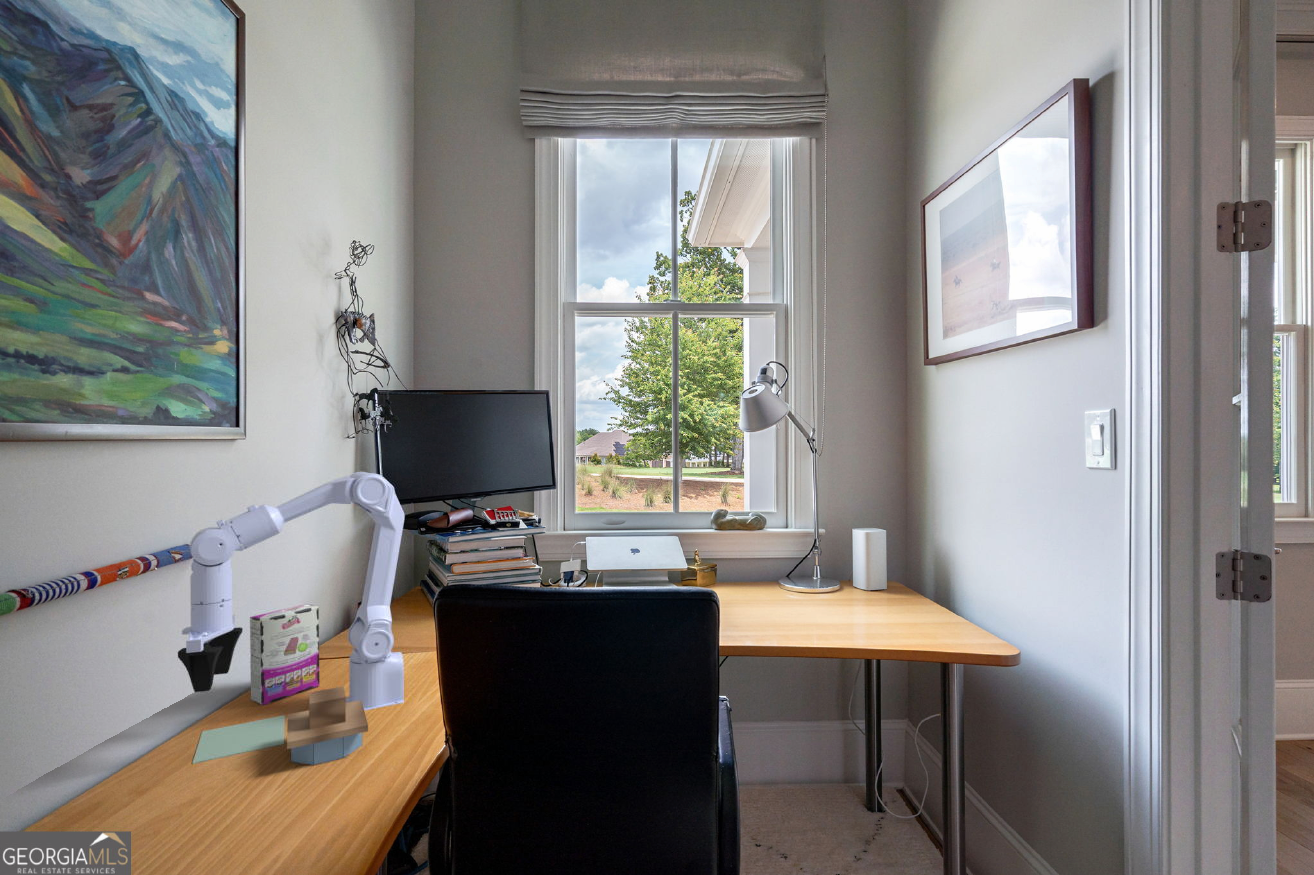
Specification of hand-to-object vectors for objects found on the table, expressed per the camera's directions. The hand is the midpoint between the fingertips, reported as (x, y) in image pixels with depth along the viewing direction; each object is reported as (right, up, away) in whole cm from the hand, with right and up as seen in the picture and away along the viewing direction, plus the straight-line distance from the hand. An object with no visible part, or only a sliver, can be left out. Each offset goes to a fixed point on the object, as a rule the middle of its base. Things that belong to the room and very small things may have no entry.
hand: (212, 682), depth 102 cm
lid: (+21, -6, -3) cm, 22 cm away
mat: (+5, -10, 0) cm, 11 cm away
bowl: (+21, -10, -3) cm, 23 cm away
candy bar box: (0, -10, +20) cm, 22 cm away
